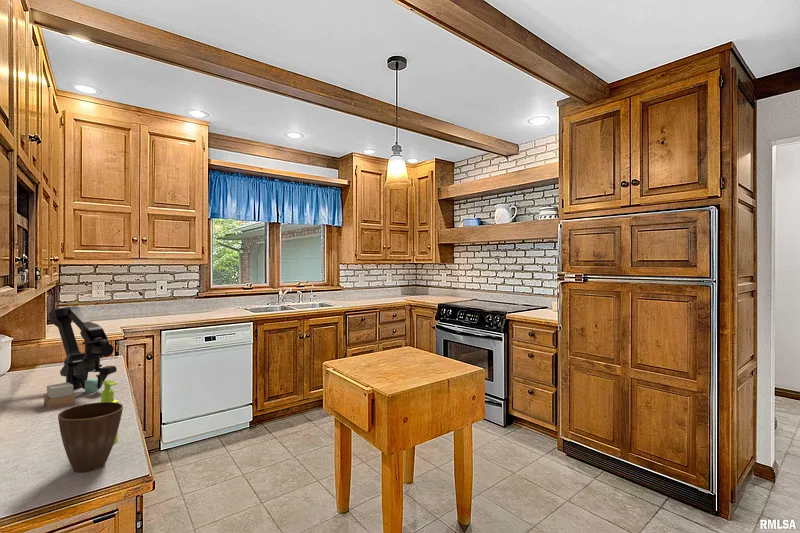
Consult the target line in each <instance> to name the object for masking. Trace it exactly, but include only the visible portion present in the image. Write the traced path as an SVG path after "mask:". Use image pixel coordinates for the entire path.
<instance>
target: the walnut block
mask: <svg viewBox="0 0 800 533" xmlns="http://www.w3.org/2000/svg"><path fill="white" fill-rule="evenodd" d="M75 397H76V395H75V394H74V393H73V395H70V396H65V397H60V398H54V399H51V398H49V397H48V396H47V394H46V395H44V396H43V406H45V407H46V408H47V409H49V410H53V409H58V408H61V407H67V406H72V405H75V403H76V402H75V400H76V399H75Z"/></svg>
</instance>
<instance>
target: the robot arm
mask: <svg viewBox="0 0 800 533" xmlns="http://www.w3.org/2000/svg"><path fill="white" fill-rule="evenodd" d="M48 317H49V319H50V321H51V323H52V325H54V326H55V327H57V329H58V332H59V335H60V338H61V341H62V342H61V343H62V345H63V348H64V351H65V355H66V356H65V358H64V361H63V364H64V365H63V366H62V368H61V369H60V371H59V373H60V376H61V377H65V383H67V382H69V383H70V384H72V385H73V390H74V389H79V388H82V389H83V390H85V381H86V380H88V378H89V373H99V374H96V375H95V377H96V379H98V389H99V390H100V389H101V388H102V386H103V384H104V383H102V381H106V379H107V377H108V376H109V375H111V374H113V373H116V372H117V369H118V368H117V367H116V365H106V366H104V367H103V364H102V363H101V359H102V358H103V357H105V358H107V357H110V356H111V355H112V354H113V353H114V350H115V348H114V346H113V345H112V344H110V341H109V338H108V336H107V334H106V332H105V330H104V328H103V327H102V326H100V325H99V324H98V323H95V322H93V321H91V320H90V319H89V318H88V316H86V315H85V314H84V313H83V311H81V309H80V307H79V306H75V305H74V306H73V305H72V306H65V307H61V308H52V309H51V310H50V311H49V312H48ZM72 322H73V323H74V324H75V325H76V327H77V328H78V329H80V332H79V335H80V337H82V340H83V342H82V345H84V352H81V351H80V349H79V346H78V343H77V339H76V335H75V333H74V329H73V326H72Z"/></svg>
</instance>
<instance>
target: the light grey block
mask: <svg viewBox="0 0 800 533" xmlns="http://www.w3.org/2000/svg"><path fill="white" fill-rule="evenodd" d="M73 394H74V389H73V385H72V384H70V383H69V382H67V383H66V382H62V383H56V384H50V385H46V395H47V396H48V397H49V398H51V399H54V398H60V397H65V396H70V395H73Z"/></svg>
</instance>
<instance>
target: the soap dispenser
mask: <svg viewBox="0 0 800 533" xmlns="http://www.w3.org/2000/svg"><path fill="white" fill-rule="evenodd" d="M102 383H103V384H104V386H103V390H102V391H100V401H99V402H116V403H119V400H118V399H114V398H115V397H114V396H115V393H114V392H115V391H114V390H113V389H112V387H111V386H116V385H118V384H117V382H116V381H114V380H110V379H108V380H105V381H102ZM118 431H119V430H118ZM118 431H117V435H116V438H115V441H114V444H116V443H117V442H118V436H119V435H118ZM115 442H116V443H115Z"/></svg>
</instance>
